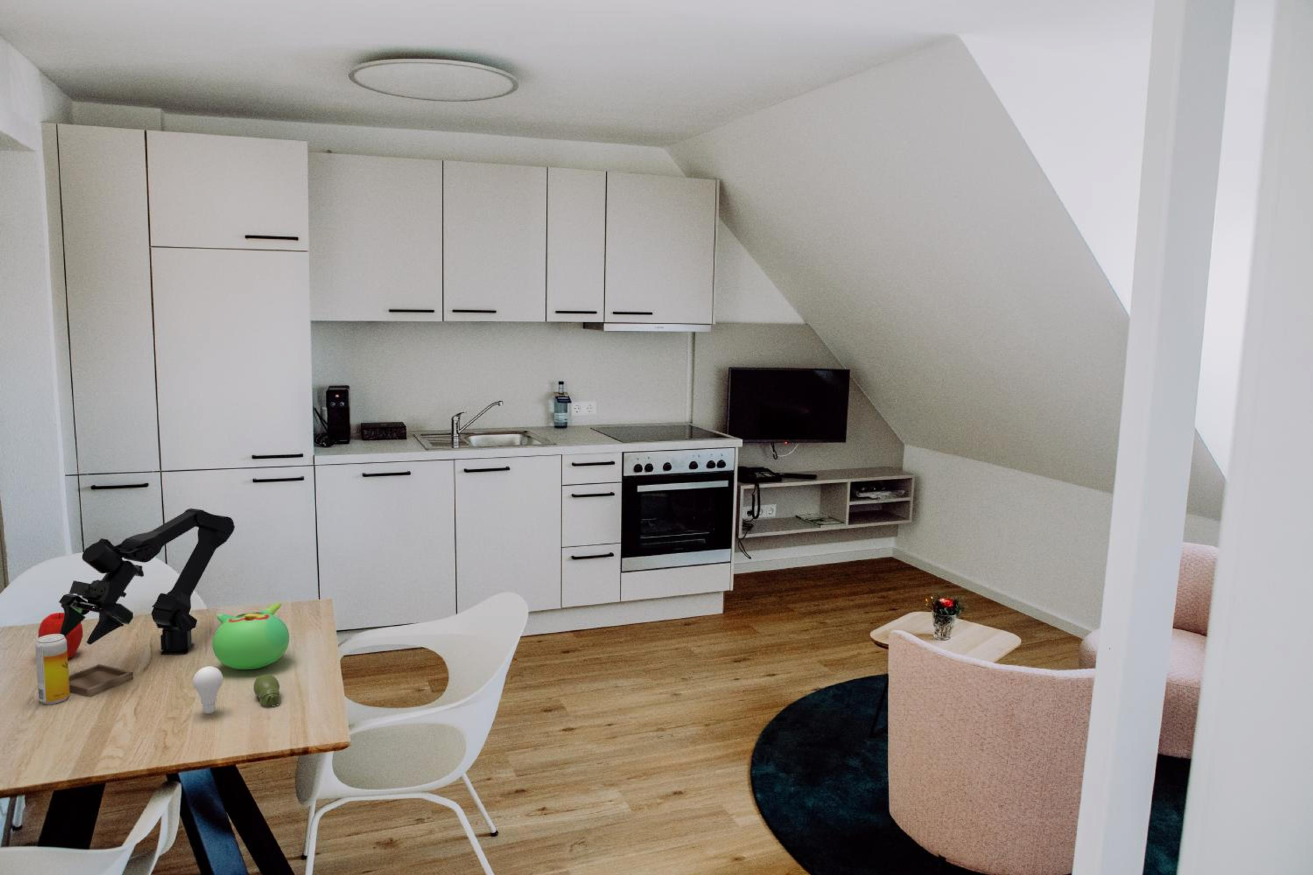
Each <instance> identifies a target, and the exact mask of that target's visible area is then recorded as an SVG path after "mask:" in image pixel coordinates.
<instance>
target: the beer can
mask: <svg viewBox="0 0 1313 875" xmlns="http://www.w3.org/2000/svg"><path fill="white" fill-rule="evenodd" d="M34 649H35V661H36V678H37V679H36V680H37V692H38V694H37V695H38V701H40V702H41V703H42V704H43V705H55V704H59V703H63V702H64V701H66V700H67V699H68V698H69V696H70V695H71V692H70V687H69V675H70V674H69V672H70V671H69V661H68V660H69V658H68V654H67V640H66V639H65V637H64V635H62V634H50V635H45V636H42V637H40V638H38V637H37V639H36V642H35V645H34Z"/></svg>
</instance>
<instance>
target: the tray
mask: <svg viewBox="0 0 1313 875" xmlns="http://www.w3.org/2000/svg"><path fill="white" fill-rule="evenodd" d="M132 680H134V672H133V671H130V670H125V669H121V668H117V667H112V666H109V665H104V664H99V663H98V664H95V665H93V666H91V667H88V668H84V669H83V670H80V671H77V672H75V673H73V674H69V687H70V694H75V695H79V696H83V697H86V698H87V697H88V698H90V697H93V696H96V695H98V694H101V693H103V692H105V691H108V690H110V689H113V688H115V687H117V686H119V685H120V686H121V685H123V684H125V683H127V682H129V681H132Z"/></svg>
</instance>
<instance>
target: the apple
mask: <svg viewBox="0 0 1313 875" xmlns="http://www.w3.org/2000/svg"><path fill="white" fill-rule="evenodd" d="M64 615H65V613H64V612H56V613H55V612H54V613H51V614H49V615H48V616H46V617H45V618H44V619H42V620H41V623H40V624H39V627H38V636H37V639H38V638H40V637H42V636H45V635H50V634H60V630H61V627H62V623H63V620H64ZM83 637H84V629H83V624H82V622H81V623H79V624H78V625H77V626H76V627H75V628H74V629H73V630H72V631H71V632H70V633H69V634H68V635H67V636H65V639H66V640H67V654H68V659H70V658H72V657H74V655H75V654H76V653H77V651H78V649H79V647H80V645H81V642H82V639H83Z"/></svg>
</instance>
